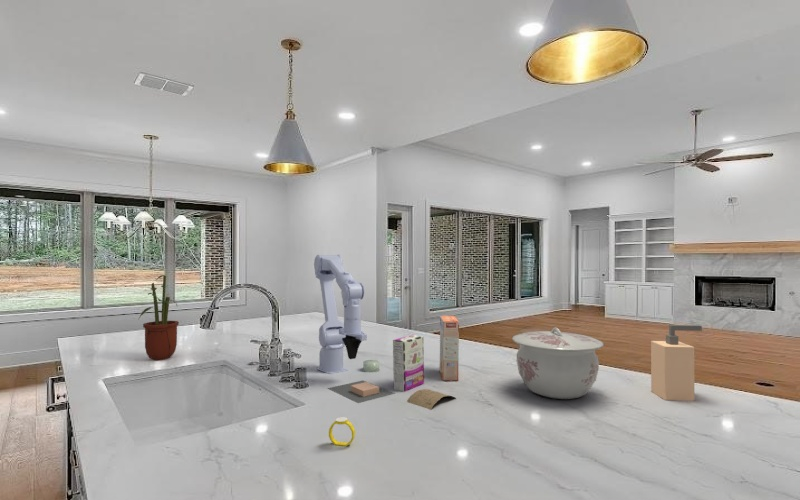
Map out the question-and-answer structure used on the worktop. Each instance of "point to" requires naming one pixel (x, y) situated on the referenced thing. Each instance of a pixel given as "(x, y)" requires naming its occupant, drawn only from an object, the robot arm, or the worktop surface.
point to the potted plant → (160, 329)
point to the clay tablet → (425, 398)
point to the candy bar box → (408, 362)
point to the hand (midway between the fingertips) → (352, 358)
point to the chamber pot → (557, 362)
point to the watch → (341, 421)
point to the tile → (364, 389)
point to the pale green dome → (371, 366)
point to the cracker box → (449, 348)
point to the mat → (346, 392)
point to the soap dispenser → (673, 366)
